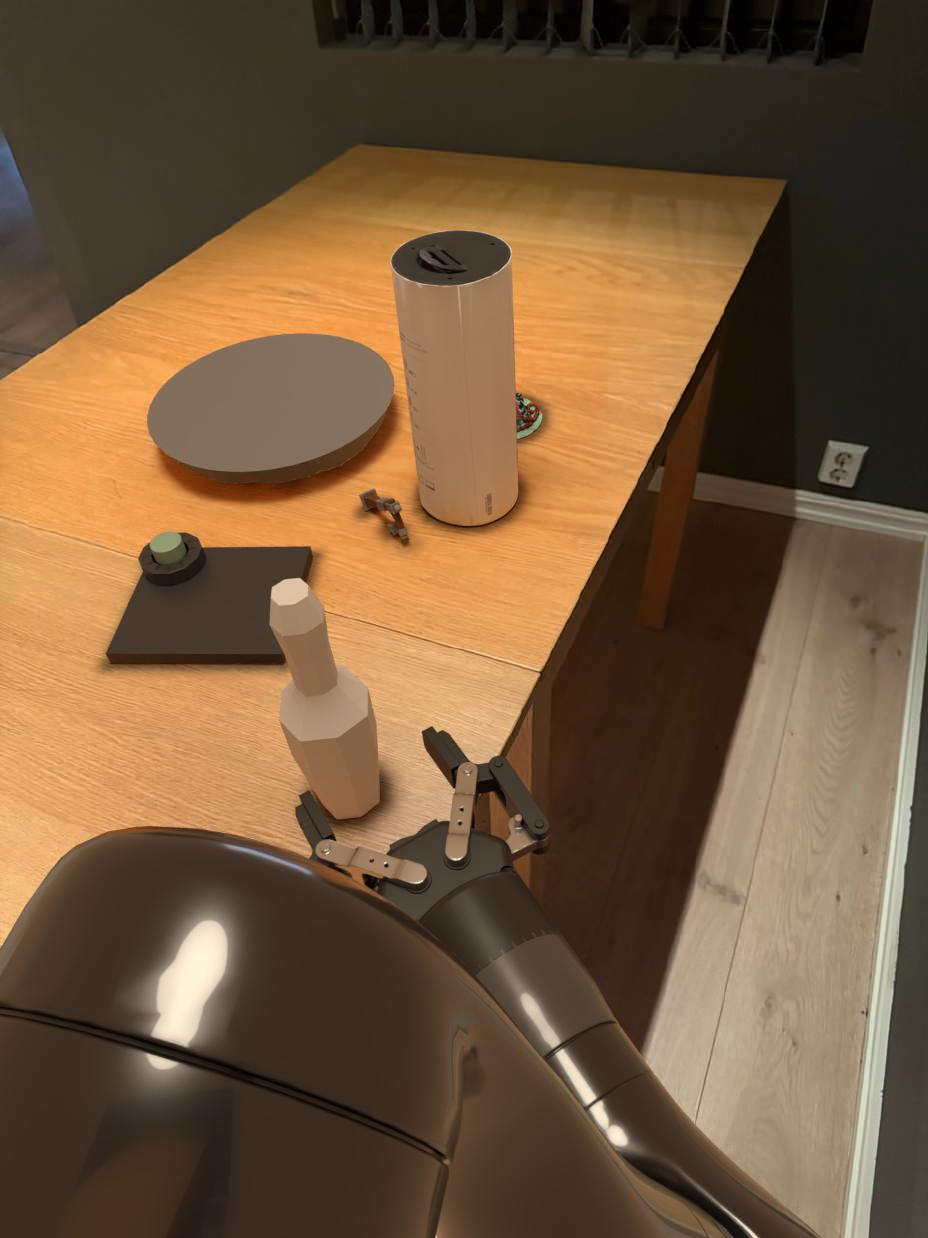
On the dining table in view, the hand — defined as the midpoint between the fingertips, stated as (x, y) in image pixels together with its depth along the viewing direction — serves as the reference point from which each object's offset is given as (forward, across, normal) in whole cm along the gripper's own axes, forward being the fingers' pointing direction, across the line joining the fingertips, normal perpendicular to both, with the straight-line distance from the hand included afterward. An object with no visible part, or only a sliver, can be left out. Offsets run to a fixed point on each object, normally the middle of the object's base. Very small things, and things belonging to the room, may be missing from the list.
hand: (367, 767), depth 55 cm
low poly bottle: (+7, 0, +12) cm, 14 cm away
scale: (+32, +2, +12) cm, 35 cm away
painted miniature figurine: (+42, -37, +12) cm, 57 cm away
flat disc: (+56, -15, +12) cm, 59 cm away
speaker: (+32, -26, +12) cm, 44 cm away
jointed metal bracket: (+34, -18, +12) cm, 40 cm away
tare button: (+39, +3, +10) cm, 40 cm away
